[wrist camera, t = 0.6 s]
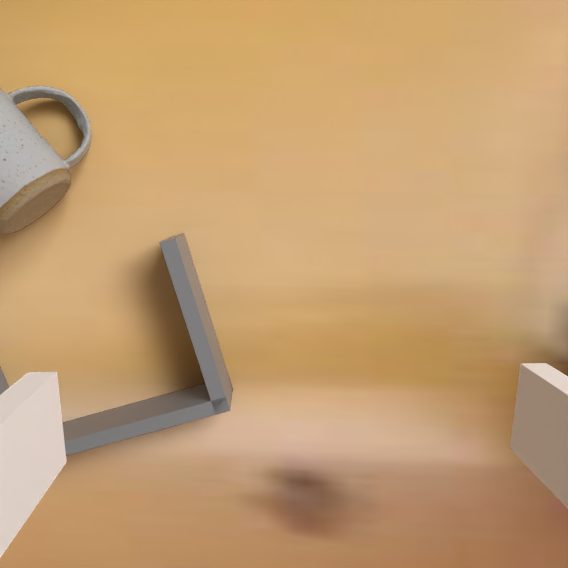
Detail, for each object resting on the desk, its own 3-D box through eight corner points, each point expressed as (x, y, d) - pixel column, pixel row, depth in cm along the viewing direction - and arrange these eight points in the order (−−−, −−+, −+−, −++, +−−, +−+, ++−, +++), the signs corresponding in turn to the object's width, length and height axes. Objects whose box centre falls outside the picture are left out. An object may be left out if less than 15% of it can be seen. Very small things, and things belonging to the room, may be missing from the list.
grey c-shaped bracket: (-46, 296, 36) (-83, 308, 32) (184, 233, 36) (175, 237, 33) (20, 447, 39) (-7, 475, 35) (232, 389, 39) (230, 410, 35)
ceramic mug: (27, 238, 36) (-32, 248, 28) (-54, 159, 34) (-140, 147, 27) (123, 148, 35) (88, 133, 28) (43, 63, 34) (-16, 23, 26)
